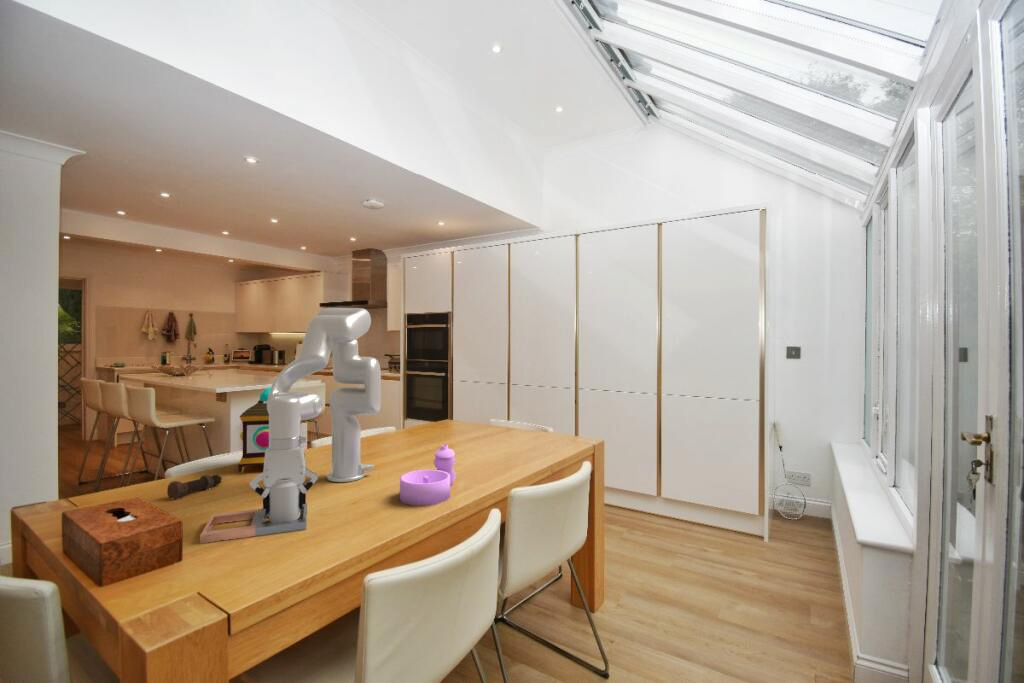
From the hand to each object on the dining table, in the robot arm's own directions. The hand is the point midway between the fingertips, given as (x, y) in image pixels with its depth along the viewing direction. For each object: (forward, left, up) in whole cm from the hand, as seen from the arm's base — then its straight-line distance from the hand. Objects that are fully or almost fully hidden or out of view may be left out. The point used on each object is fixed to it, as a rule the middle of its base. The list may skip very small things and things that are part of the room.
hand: (284, 508), depth 124 cm
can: (0, 0, -4) cm, 4 cm away
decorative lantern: (+9, -61, -4) cm, 61 cm away
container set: (-42, -10, -4) cm, 43 cm away
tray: (+6, 0, -3) cm, 7 cm away
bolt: (+27, -36, -4) cm, 45 cm away
